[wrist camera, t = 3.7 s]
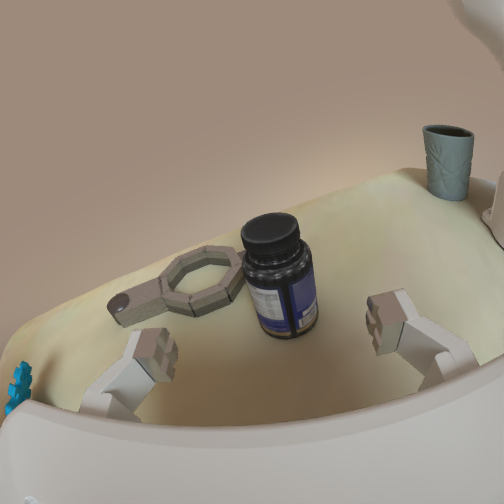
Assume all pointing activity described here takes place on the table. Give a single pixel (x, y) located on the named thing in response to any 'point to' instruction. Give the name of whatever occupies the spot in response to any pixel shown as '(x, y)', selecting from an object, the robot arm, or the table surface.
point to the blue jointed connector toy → (19, 387)
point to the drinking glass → (448, 160)
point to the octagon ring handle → (165, 299)
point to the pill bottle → (279, 275)
